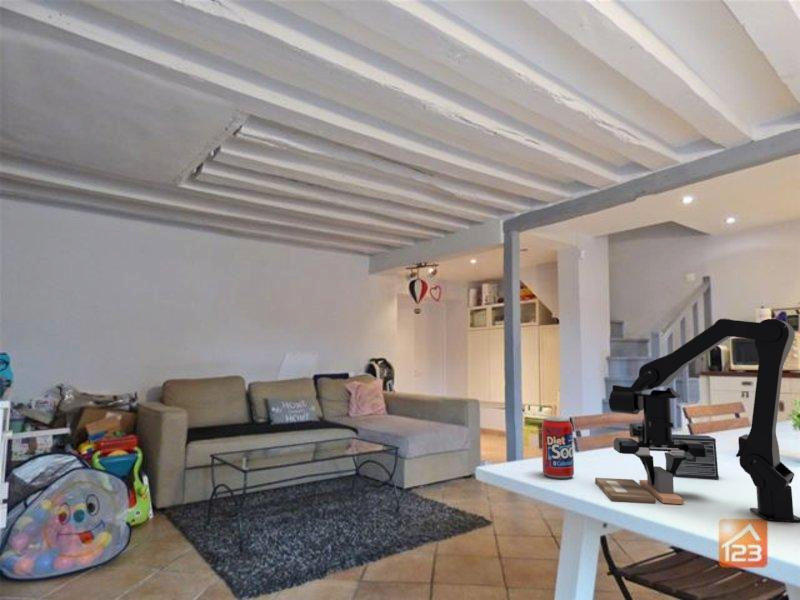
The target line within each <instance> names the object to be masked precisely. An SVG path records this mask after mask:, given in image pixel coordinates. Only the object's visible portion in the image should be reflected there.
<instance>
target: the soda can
mask: <svg viewBox="0 0 800 600" xmlns="http://www.w3.org/2000/svg"><path fill="white" fill-rule="evenodd" d="M543 420H544V421H542V423H541V446H542V447H541V449H542V450H541V452H542V454H541V456H542V473H543V474H544V475H545V476H547V477H549V478H552V479H558V480H566V479H570V478H571V477H573V476H574V475H575V464H574V462H575V459H574V457H575V456H574V427H573V425H572V423H571V422H570V421H571V419H570V418H566V417H559V416H557V417H556V416H551V417H544V419H543Z"/></svg>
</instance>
